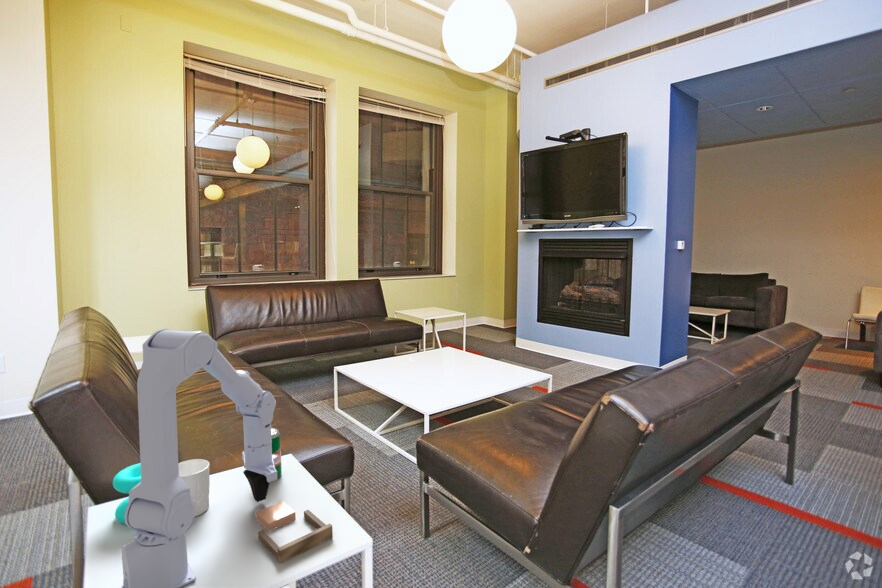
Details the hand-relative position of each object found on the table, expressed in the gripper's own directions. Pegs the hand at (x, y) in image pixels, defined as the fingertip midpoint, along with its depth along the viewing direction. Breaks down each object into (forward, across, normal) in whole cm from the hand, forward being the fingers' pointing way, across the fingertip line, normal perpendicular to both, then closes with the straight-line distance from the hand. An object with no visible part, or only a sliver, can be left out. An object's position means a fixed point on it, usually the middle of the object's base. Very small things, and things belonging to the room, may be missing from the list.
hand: (260, 499), depth 104 cm
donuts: (+1, +14, +20) cm, 25 cm away
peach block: (+2, -8, 0) cm, 8 cm away
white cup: (+1, +8, +12) cm, 15 cm away
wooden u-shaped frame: (+1, -16, 0) cm, 16 cm away
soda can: (+1, +10, -7) cm, 12 cm away
